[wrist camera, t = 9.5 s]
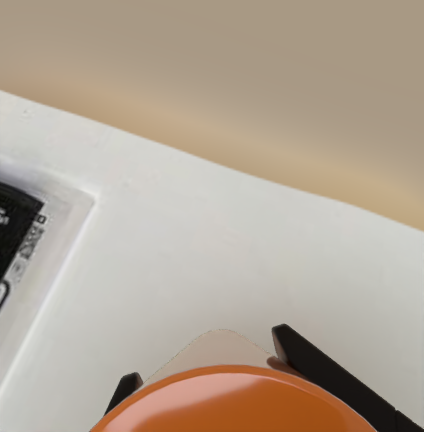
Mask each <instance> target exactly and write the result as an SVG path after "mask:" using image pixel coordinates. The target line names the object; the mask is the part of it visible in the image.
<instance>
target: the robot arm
mask: <svg viewBox="0 0 424 432" xmlns="http://www.w3.org/2000/svg"><path fill="white" fill-rule="evenodd" d="M272 336H273V341H274V346H275V350H276V353H277V356H278V358H279V360H281V361H282V362H284V363H285V364H287V365H288V366H290V367H292V368H293V369H295V370H296V371H298V372H299V373H301V374H302V375H304V376H305V377H307V378H308V379H310V380H311V381H313V382H314V383H316V384H317V385H319V386H321V387H322V388H324V389H325V390H327V391H328V392H330V393H331V394H333V395H334V396H336V397H337V398H339V399H340V400H342V401H343V402H344V403H346V404H347V405H348V406H349V407H351V408H352V409H353V410H354V411H356V412H357V413H358V414H360V415H361V416H362V417H363V418H364V419H365V420H366V421H367V422H368V423H369V424H370V425H371V426H372V427H373V428H374V429H375V430H376V431H377V432H424V429H422V428H421V427H420V426H418V425H417V424H416V423H414V422H413V421H412V420H410V419H409V418H408V417H407V416H405V415H404V414H403V413H401V412H400V411H399V410H395V407H393V406H392V405H391V404H389V403H388V402H387V401H386V400H384V399H383V398H382V397H380V396H379V395H378V394H376V393H375V392H374V391H373V390H371V389H370V388H369V387H367V386H366V385H365V384H363V383H362V382H361V381H360V380H358V379H357V378H356V377H354V376H353V375H352V374H350V373H349V372H348V371H347V370H345V369H344V368H343V367H341V366H340V365H339V364H337V363H336V362H335V361H334V360H332V359H331V358H330V357H328V356H327V355H326V354H324V353H323V352H322V351H321V350H319V349H318V348H317V347H315V346H314V345H313V344H312V343H310V342H309V341H308V340H306V339H305V338H304V337H302V336H301V335H300V334H299V333H297V332H296V331H295V330H293V329H292V328H291V327H289V326H288V325H287V324H281V325H278V326H275V327H273V328H272ZM142 384H143V381H142V379H141V377H140V375H139V374H138V373H137V372H134V373H131V374H128V375H125V376H123V377H122V378H121V380H120V382H119V384H118V386H117V389H116V391H115V393H114V395H113V397H112V399H111V401H110V403H109V406H108V408H107V410H106V412H105V414H104V416H105V415H106V414H107V413H108V412H109V411H111V410H112V409H113V408H114V407H115V406H117V405H118V404H119V403H120V402H121V401H123V400H124V399H125V398H126V397H127V396H128V395H130V394H131V393H132V392H133V391H134V390H136V389H137V388H138V387H139V386H140V385H142ZM104 416H103V417H104Z"/></svg>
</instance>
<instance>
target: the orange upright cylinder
mask: <svg viewBox="0 0 424 432" xmlns="http://www.w3.org/2000/svg"><path fill="white" fill-rule="evenodd" d="M89 432H377V431H376V430H375V429H374V428H373V427H372V426H371V425H370V424H369V423H368V422H367V421H366V420H365V419H364V418H363V417H362V416H361V415H360V414H358V413H357V412H356V411H354V410H353V409H352V408H351V407H349V406H348V405H347V404H346V403H344V402H343V401H342V400H340V399H339V398H337V397H336V396H334V395H333V394H331V393H330V392H328V391H327V390H325V389H324V388H322V387H321V386H319V385H317V384H316V383H314V382H313V381H311V380H310V379H308V378H307V377H305V376H304V375H302V374H301V373H299V372H298V371H296V370H295V369H293V368H292V367H290V366H288V365H287V364H285V363H284V362H282V361H281V360H279V359H278V358H276V357H275V356H273V355H272V354H270V353H269V352H267V351H266V350H264V349H263V348H261V347H259V346H258V345H256V344H255V343H253V342H252V341H250V340H249V339H247V338H246V337H244V336H243V335H241V334H239V333H237V332H234V331H231V330H224V329H219V330H213V331H209V332H207V333H204V334H202V335H201V336H199V337H198V338H196V339H195V340H194V341H193V342H192V343H190V344H189V345H188V346H187V347H186V348H184V349H183V350H182V351H181V352H180V353H179V354H177V355H176V356H175V357H174V358H173V359H171V360H170V361H169V362H168V363H167V364H165V365H164V366H163V367H162V368H161V369H159V370H158V371H157V372H156V373H155V374H154V375H152V376H151V377H150V378H149V379H148V380H146V381H145V382H144V383H143V384H142V385H140V386H139V387H138V388H137V389H136V390H134V391H133V392H132V393H131V394H130V395H128V396H127V397H126V398H125V399H124V400H123V401H121V402H120V403H119V404H118V405H117V406H115V407H114V408H113V409H112V410H111V411H109V412H108V413H107V414H106V415H105V416H104V417H103V418H102V419H101V420H100V421H99V422H98V423H97V424H96V425H95V426H94V427H93V428H92V429H91V430H90V431H89Z"/></svg>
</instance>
